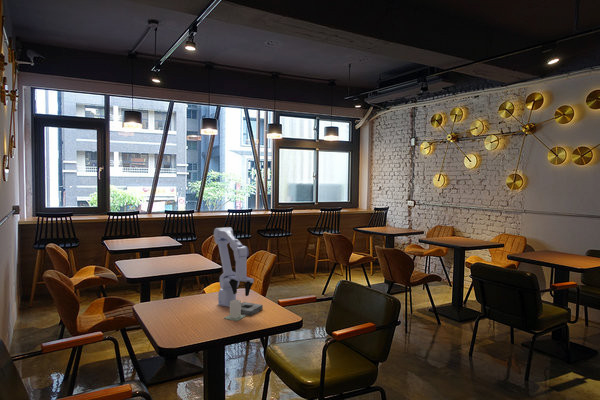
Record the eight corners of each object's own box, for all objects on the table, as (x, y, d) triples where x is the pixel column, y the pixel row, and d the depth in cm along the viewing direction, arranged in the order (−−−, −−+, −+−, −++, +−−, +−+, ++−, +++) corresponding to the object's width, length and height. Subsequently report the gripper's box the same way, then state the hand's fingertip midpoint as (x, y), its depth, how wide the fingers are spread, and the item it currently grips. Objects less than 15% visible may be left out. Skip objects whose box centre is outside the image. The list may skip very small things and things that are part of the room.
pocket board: (231, 312, 212) (231, 308, 212) (243, 306, 223) (243, 301, 223) (250, 316, 207) (250, 311, 207) (262, 309, 218) (262, 304, 217)
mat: (223, 318, 202) (223, 317, 202) (233, 314, 210) (233, 313, 210) (237, 321, 199) (237, 320, 199) (245, 316, 206) (245, 315, 206)
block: (229, 317, 204) (229, 301, 203) (234, 314, 207) (234, 299, 207) (236, 318, 202) (236, 302, 201) (240, 316, 205) (240, 300, 205)
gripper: (225, 269, 211) (225, 294, 212) (248, 272, 205) (248, 298, 206) (233, 266, 218) (232, 291, 218) (255, 269, 211) (255, 294, 212)
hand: (241, 294), depth 212 cm, fingers open, 7 cm apart
